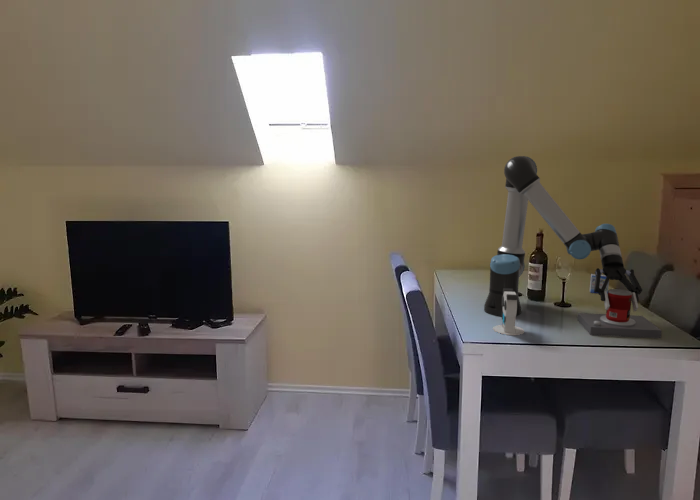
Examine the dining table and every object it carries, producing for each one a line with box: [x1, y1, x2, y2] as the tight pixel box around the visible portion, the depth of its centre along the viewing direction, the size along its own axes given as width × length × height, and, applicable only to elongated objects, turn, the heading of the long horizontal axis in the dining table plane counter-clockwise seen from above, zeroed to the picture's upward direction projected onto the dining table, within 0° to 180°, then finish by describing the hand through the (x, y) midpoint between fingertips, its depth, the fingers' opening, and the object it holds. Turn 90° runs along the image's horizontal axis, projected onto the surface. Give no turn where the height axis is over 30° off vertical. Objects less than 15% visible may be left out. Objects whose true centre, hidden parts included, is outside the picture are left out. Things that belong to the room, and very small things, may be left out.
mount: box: [577, 312, 662, 339], centre depth 200 cm, size 24×18×4 cm
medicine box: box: [589, 273, 610, 295], centre depth 253 cm, size 8×4×9 cm, turn 68°
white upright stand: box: [492, 288, 525, 336], centre depth 197 cm, size 12×11×15 cm
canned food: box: [605, 288, 632, 322], centre depth 198 cm, size 8×8×11 cm
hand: (621, 308), depth 195 cm, fingers open, 9 cm apart
